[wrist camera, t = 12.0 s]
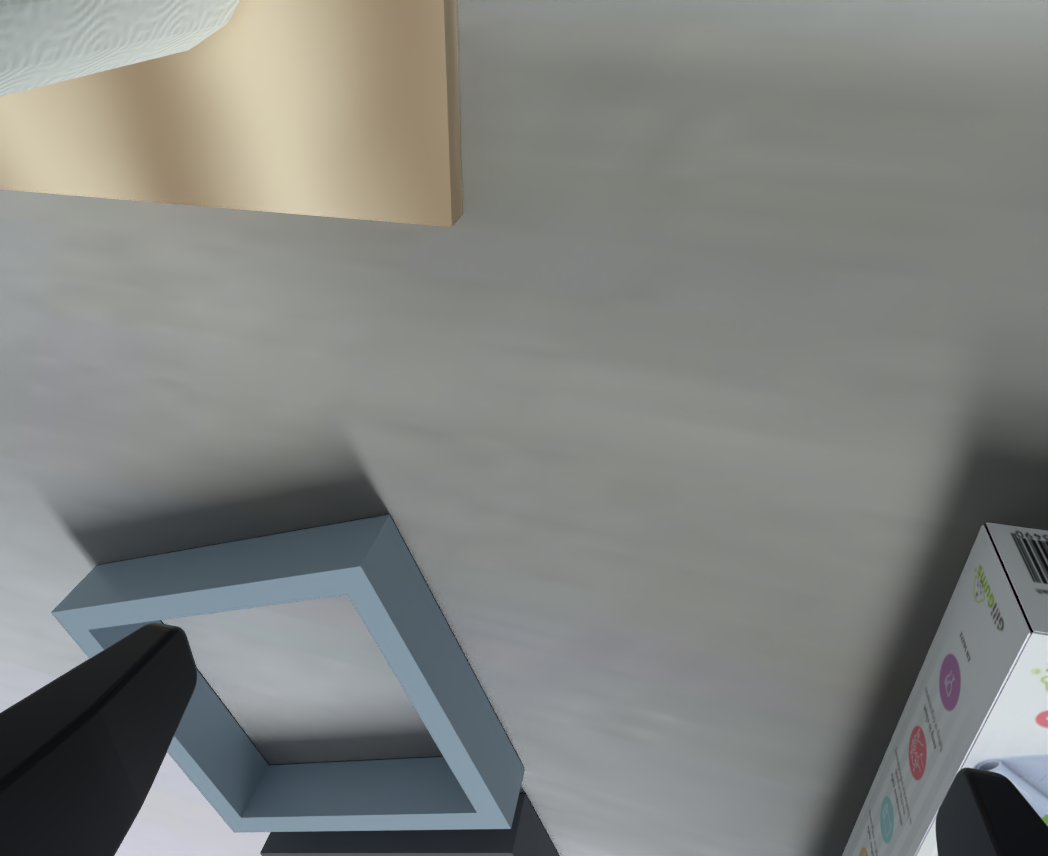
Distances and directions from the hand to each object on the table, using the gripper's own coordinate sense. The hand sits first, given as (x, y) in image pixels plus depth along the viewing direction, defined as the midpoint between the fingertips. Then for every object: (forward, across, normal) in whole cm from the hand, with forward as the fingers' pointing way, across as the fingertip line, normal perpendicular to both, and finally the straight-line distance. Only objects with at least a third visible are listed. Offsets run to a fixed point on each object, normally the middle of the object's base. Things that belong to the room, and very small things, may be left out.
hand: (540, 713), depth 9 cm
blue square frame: (+13, +11, +17) cm, 24 cm away
